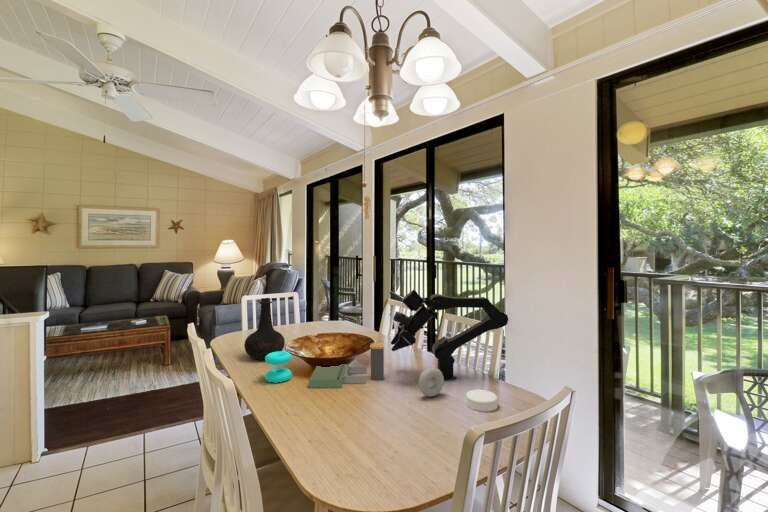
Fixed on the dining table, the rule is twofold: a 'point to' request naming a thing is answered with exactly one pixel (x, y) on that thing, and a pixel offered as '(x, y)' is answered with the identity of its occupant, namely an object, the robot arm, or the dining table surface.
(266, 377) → the donuts
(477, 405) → the white round disc
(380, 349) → the grey tan rectangular block
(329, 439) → the dining table surface
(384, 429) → the dining table surface
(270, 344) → the dark bulbous vase
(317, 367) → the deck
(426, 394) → the donut
